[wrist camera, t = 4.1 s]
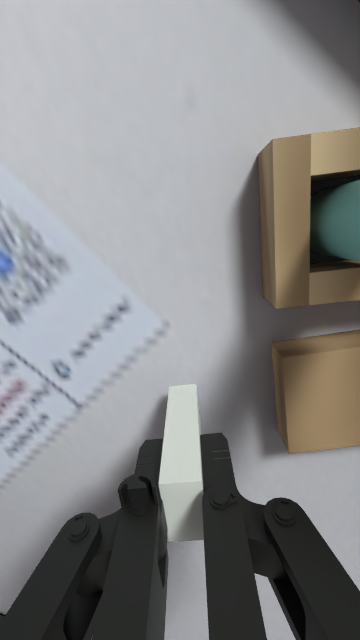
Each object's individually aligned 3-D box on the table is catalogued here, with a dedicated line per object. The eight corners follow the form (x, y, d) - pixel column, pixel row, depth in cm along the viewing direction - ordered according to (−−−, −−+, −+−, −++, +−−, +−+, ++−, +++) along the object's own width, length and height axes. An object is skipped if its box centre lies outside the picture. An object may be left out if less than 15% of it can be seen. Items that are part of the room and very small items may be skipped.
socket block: (262, 296, 16) (276, 309, 14) (258, 154, 14) (272, 139, 12) (395, 282, 16) (432, 292, 13) (410, 133, 14) (456, 114, 11)
